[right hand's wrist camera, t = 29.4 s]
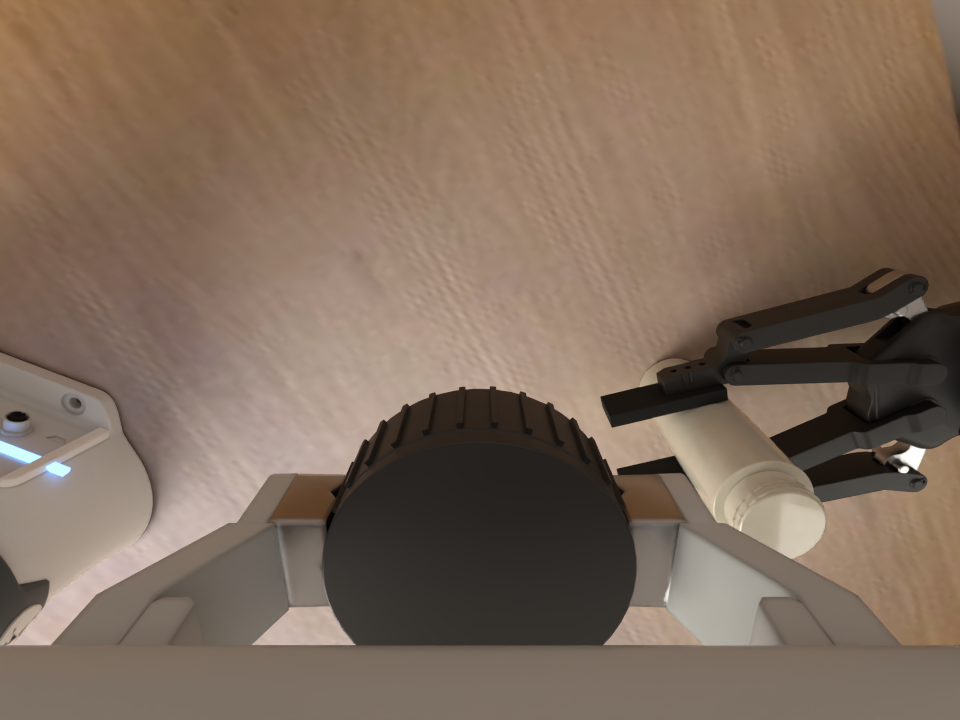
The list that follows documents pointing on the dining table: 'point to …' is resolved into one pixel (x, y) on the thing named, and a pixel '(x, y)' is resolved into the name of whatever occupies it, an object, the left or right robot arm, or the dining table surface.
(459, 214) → the dining table surface
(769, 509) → the jar
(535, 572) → the lid
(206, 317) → the dining table surface
